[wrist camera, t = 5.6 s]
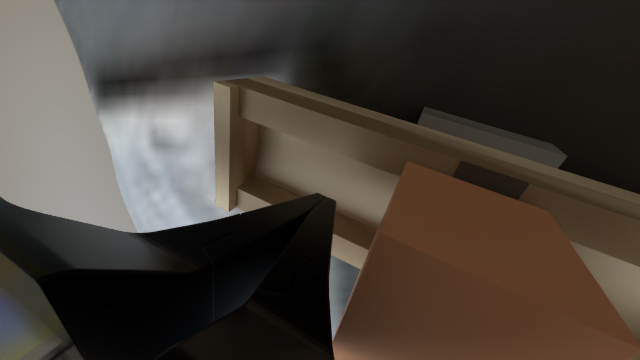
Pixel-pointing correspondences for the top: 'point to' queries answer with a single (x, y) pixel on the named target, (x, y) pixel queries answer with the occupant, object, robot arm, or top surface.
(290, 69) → the top surface
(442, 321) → the block
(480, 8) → the top surface
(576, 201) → the wooden tray
